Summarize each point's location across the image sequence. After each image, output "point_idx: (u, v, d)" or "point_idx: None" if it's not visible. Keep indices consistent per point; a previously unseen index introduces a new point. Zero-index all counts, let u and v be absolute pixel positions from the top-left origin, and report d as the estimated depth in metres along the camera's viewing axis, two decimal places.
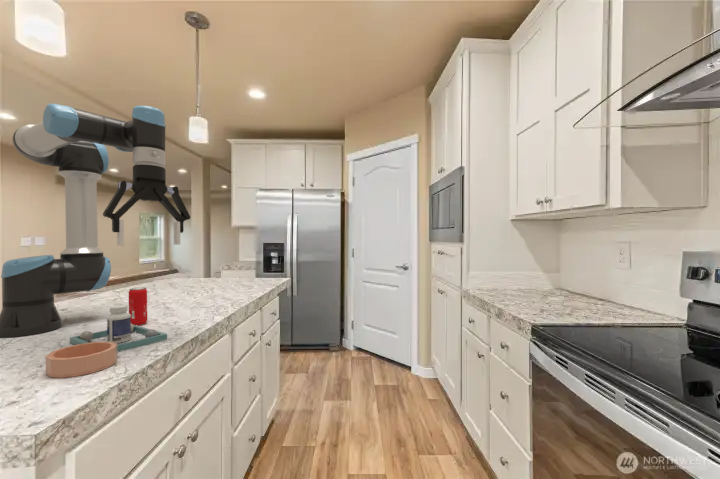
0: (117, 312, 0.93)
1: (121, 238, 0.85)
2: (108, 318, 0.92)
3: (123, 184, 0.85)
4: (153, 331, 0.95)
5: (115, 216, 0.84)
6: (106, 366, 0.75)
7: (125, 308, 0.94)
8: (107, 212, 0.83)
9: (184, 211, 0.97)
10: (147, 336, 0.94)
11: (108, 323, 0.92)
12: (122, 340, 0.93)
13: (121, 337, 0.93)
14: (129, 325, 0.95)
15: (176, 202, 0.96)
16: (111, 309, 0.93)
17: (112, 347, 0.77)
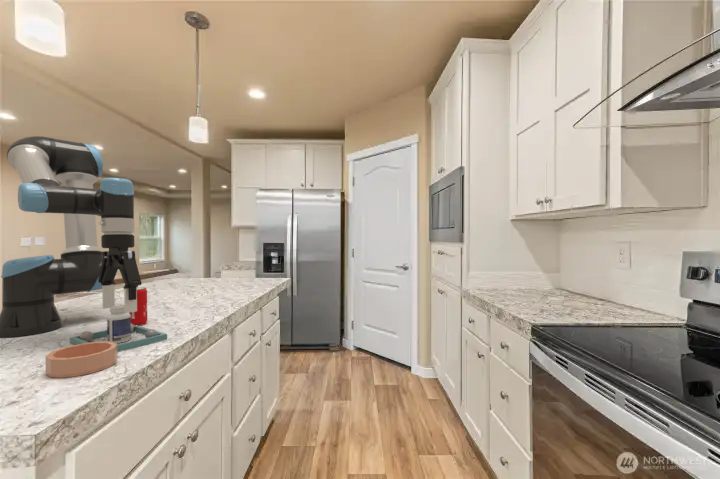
0: (117, 312, 0.93)
1: (103, 302, 0.97)
2: (108, 318, 0.92)
3: (103, 254, 0.97)
4: (153, 331, 0.95)
5: (101, 282, 0.98)
6: (106, 366, 0.75)
7: None
8: (99, 279, 0.99)
9: (128, 277, 0.89)
10: (147, 336, 0.94)
11: (108, 323, 0.92)
12: (122, 340, 0.93)
13: (121, 337, 0.93)
14: (129, 325, 0.95)
15: None
16: (111, 309, 0.93)
17: (112, 347, 0.77)
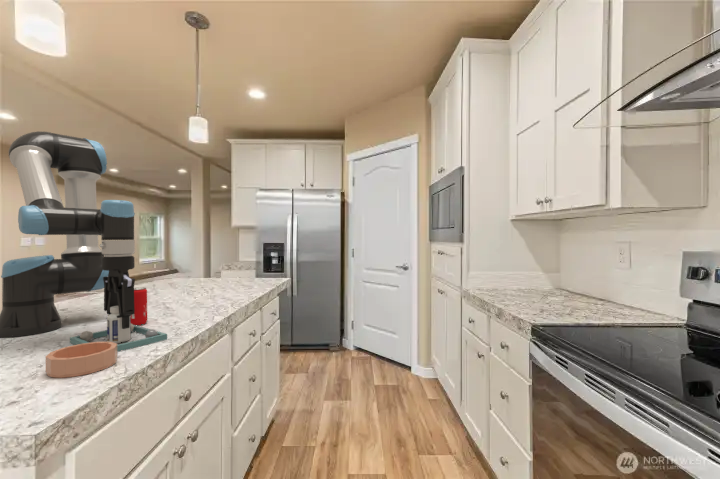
0: (117, 312, 0.93)
1: None
2: (108, 318, 0.92)
3: (104, 280, 0.97)
4: (153, 331, 0.95)
5: (107, 312, 0.96)
6: (106, 366, 0.75)
7: None
8: (104, 308, 0.97)
9: (123, 306, 0.91)
10: (147, 336, 0.94)
11: (108, 323, 0.92)
12: None
13: None
14: None
15: None
16: (111, 309, 0.93)
17: (112, 347, 0.77)
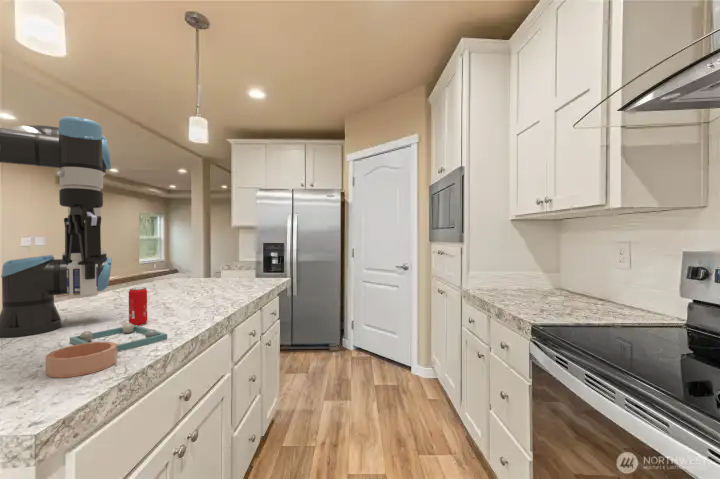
0: (79, 259, 0.74)
1: None
2: (68, 266, 0.73)
3: (65, 221, 0.78)
4: (153, 331, 0.95)
5: None
6: (106, 366, 0.75)
7: None
8: (65, 256, 0.78)
9: (85, 250, 0.72)
10: (147, 336, 0.94)
11: (68, 272, 0.73)
12: None
13: None
14: (96, 277, 0.76)
15: None
16: (72, 255, 0.74)
17: (112, 347, 0.77)
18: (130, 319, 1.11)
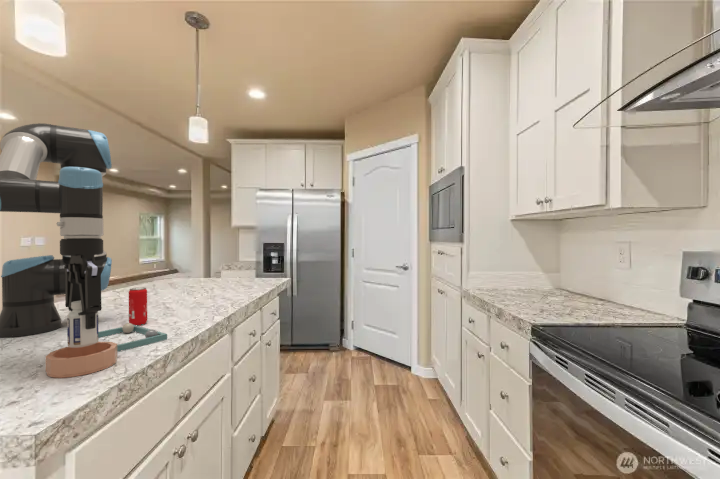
0: (80, 309, 0.74)
1: None
2: (68, 316, 0.73)
3: (65, 268, 0.78)
4: (153, 331, 0.95)
5: None
6: (106, 366, 0.75)
7: None
8: (65, 303, 0.78)
9: (86, 300, 0.71)
10: (147, 336, 0.94)
11: (68, 322, 0.73)
12: None
13: None
14: None
15: None
16: (72, 304, 0.74)
17: (112, 347, 0.77)
18: (130, 319, 1.11)
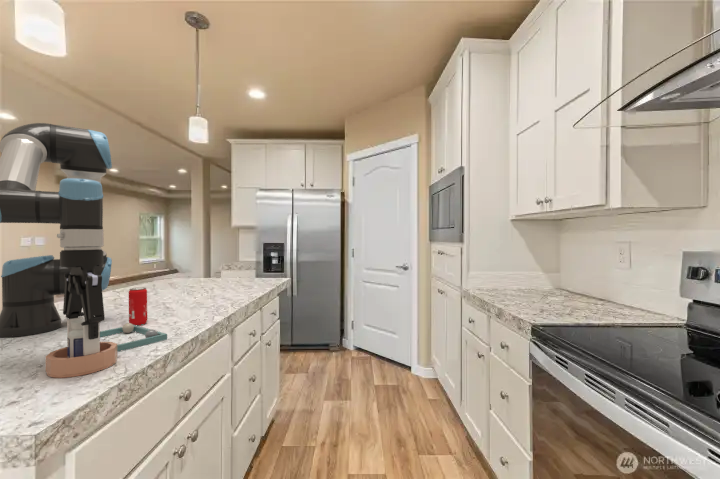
0: (80, 328, 0.74)
1: None
2: (68, 336, 0.73)
3: (65, 277, 0.78)
4: (153, 331, 0.95)
5: None
6: (106, 366, 0.75)
7: None
8: (63, 310, 0.79)
9: (88, 311, 0.71)
10: (147, 336, 0.94)
11: (68, 342, 0.73)
12: None
13: None
14: None
15: None
16: (72, 324, 0.74)
17: (112, 347, 0.77)
18: (130, 319, 1.11)
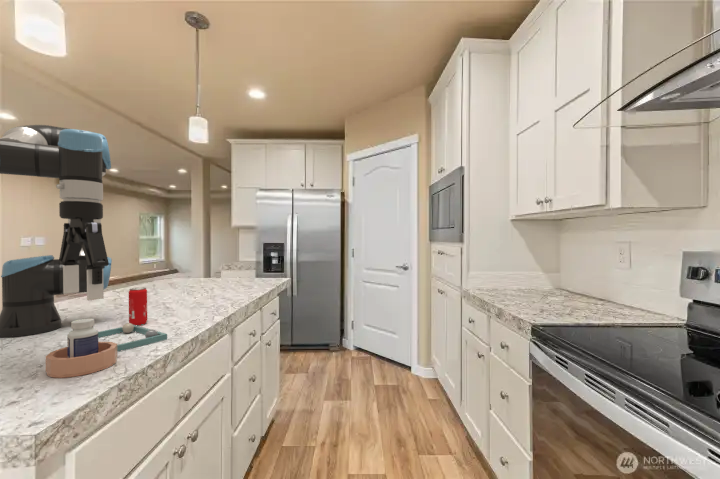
0: (80, 328, 0.74)
1: (63, 286, 0.78)
2: (68, 336, 0.73)
3: (64, 227, 0.78)
4: (153, 331, 0.95)
5: (62, 262, 0.79)
6: (106, 366, 0.75)
7: (91, 323, 0.76)
8: (59, 258, 0.80)
9: (91, 255, 0.70)
10: (147, 336, 0.94)
11: (68, 342, 0.73)
12: None
13: None
14: (96, 344, 0.76)
15: None
16: (72, 324, 0.74)
17: (112, 347, 0.77)
18: (130, 319, 1.11)
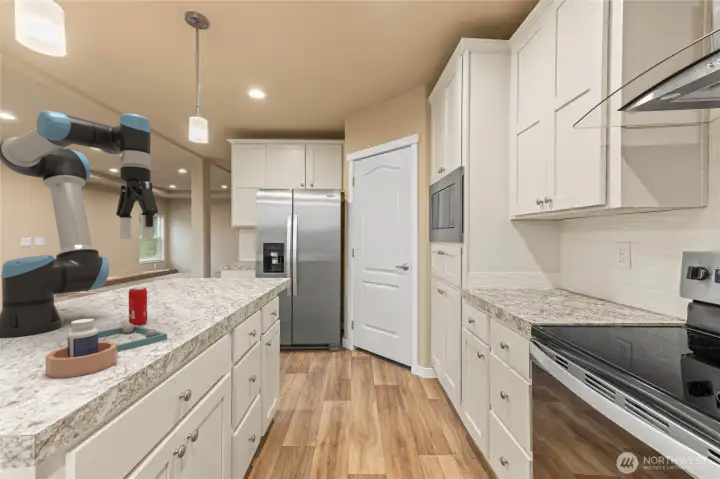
0: (80, 328, 0.74)
1: (120, 232, 1.04)
2: (68, 336, 0.73)
3: (121, 188, 1.03)
4: (153, 331, 0.95)
5: (119, 215, 1.04)
6: (106, 366, 0.75)
7: (91, 323, 0.76)
8: None
9: (145, 205, 0.96)
10: (147, 336, 0.94)
11: (68, 342, 0.73)
12: None
13: None
14: (96, 344, 0.76)
15: None
16: (72, 324, 0.74)
17: (112, 347, 0.77)
18: (130, 319, 1.11)
